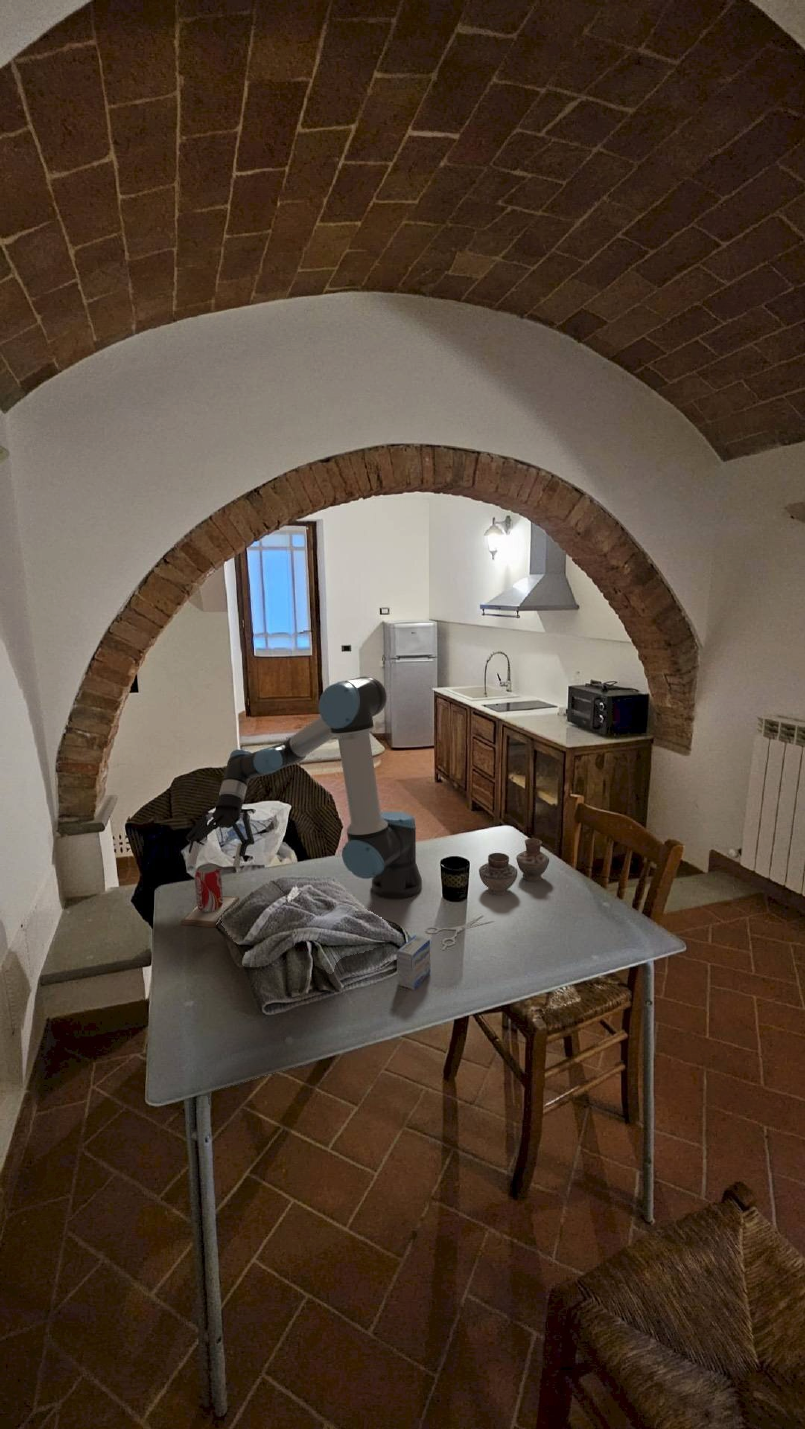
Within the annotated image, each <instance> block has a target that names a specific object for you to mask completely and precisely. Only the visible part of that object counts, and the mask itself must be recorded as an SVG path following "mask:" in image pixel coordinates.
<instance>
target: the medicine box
mask: <svg viewBox="0 0 805 1429" xmlns="http://www.w3.org/2000/svg"><path fill="white" fill-rule="evenodd" d="M396 971H397V972H396V975H397V985H398V984H399V985H398V986H401V987H403V986H404V988H406V987H409V988H411V989H410V990H412V989H414V988H415V987H416V988H417V987H418V986H419V985H420V984H421V983H422V982H423V981H424V980H425V979H424V978H425V977H426V976H427V977H428V976H429V974H431V940H430V939H428V938H426V937H423V936H420V935H417V934H415V935H413V936H412V937H411V938H410V939H409V940H408V941H407V942H405V943H404V944H403V945H402V946H401V947H400V948H399V949H398V950H396ZM427 977H426V978H427ZM423 979H424V980H423ZM421 981H422V982H421ZM420 982H421V983H420ZM418 984H419V985H418ZM417 985H418V986H417ZM409 988H408V989H409ZM416 988H415V989H416ZM415 989H414V990H415Z"/></svg>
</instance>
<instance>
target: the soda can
mask: <svg viewBox="0 0 805 1429" xmlns="http://www.w3.org/2000/svg"><path fill="white" fill-rule="evenodd" d="M221 873H222V872H221V869H220V868H219V865H218V864H215V863H205V864H201V865H199V866H198V867H197V868H196V872H195V874H194V885H195V896H196V897H195V899H196V906H198V909H199V910H201V911H203V912H213V911H216V910H217V909H219V908H220V907H221V906H222V905H223V896H224V894H223V893H224V892H223V881H222V874H221Z"/></svg>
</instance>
